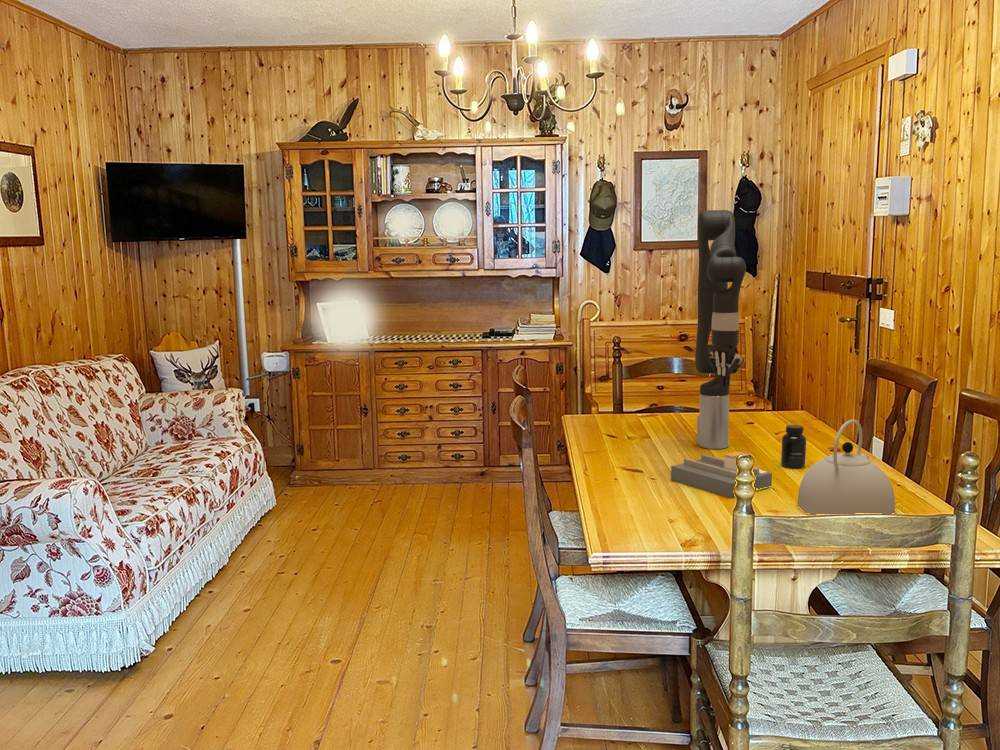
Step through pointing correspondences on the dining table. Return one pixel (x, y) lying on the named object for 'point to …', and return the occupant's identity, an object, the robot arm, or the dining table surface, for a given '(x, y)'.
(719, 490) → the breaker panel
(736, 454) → the handle
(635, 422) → the dining table surface
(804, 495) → the kettle
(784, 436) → the supplement bottle
